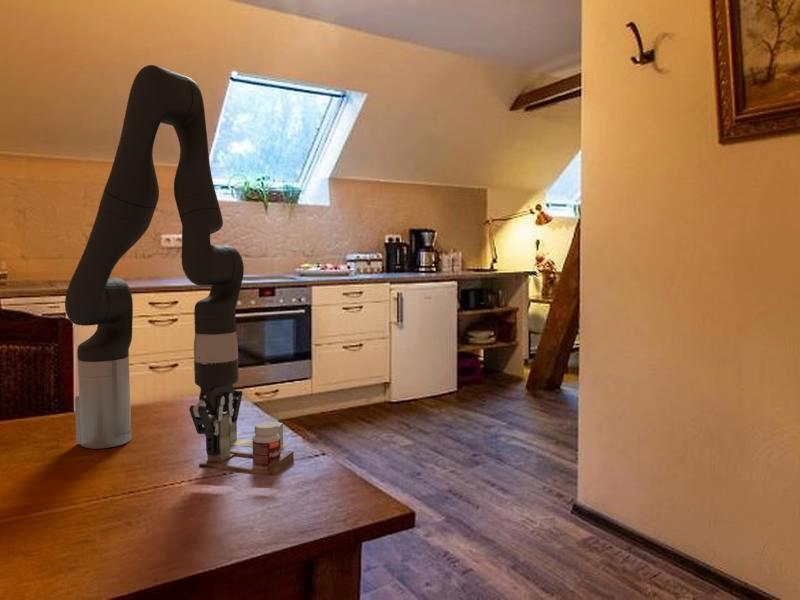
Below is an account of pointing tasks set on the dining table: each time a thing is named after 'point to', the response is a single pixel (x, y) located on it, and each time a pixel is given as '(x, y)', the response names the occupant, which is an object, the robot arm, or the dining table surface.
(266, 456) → the pill bottle
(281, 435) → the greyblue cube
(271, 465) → the open wooden frame
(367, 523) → the dining table surface
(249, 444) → the birch slat
